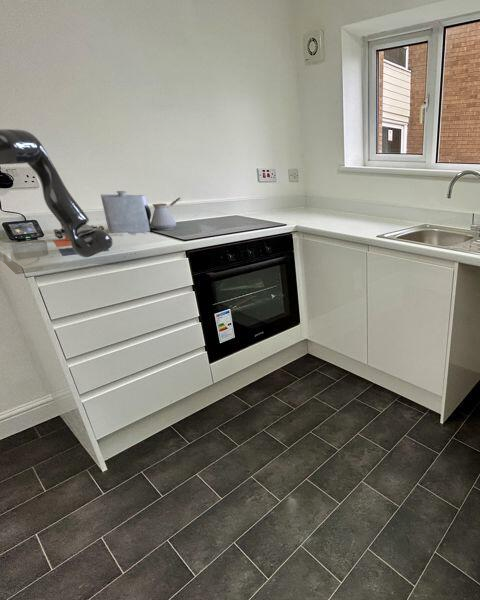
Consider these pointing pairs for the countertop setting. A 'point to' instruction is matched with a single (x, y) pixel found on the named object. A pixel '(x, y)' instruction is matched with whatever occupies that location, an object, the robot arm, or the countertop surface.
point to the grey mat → (69, 251)
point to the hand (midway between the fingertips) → (77, 229)
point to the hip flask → (125, 213)
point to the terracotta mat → (62, 243)
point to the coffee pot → (163, 217)
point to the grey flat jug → (132, 195)
